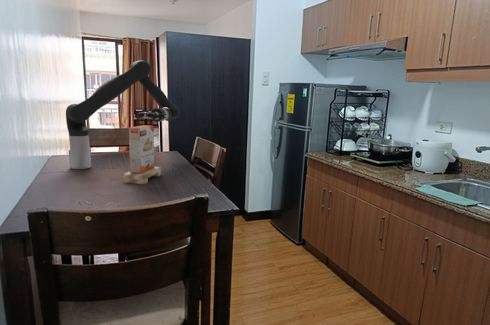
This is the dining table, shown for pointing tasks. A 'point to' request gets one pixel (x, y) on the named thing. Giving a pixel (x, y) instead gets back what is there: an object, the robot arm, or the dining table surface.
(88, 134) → the robot arm
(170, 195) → the dining table surface
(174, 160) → the dining table surface
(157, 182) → the dining table surface
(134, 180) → the birch stand
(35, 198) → the dining table surface
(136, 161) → the cracker box
